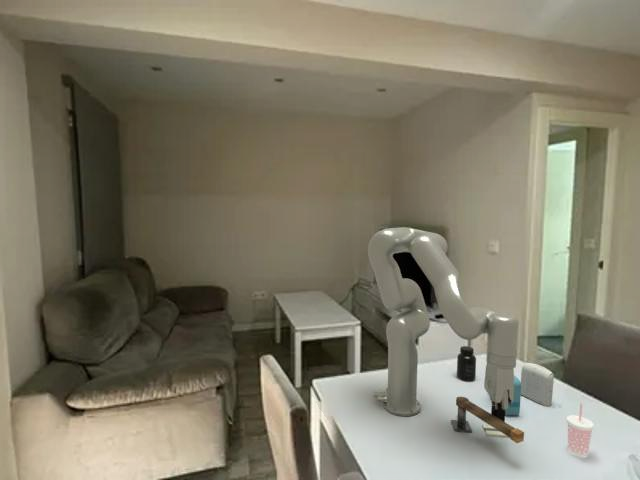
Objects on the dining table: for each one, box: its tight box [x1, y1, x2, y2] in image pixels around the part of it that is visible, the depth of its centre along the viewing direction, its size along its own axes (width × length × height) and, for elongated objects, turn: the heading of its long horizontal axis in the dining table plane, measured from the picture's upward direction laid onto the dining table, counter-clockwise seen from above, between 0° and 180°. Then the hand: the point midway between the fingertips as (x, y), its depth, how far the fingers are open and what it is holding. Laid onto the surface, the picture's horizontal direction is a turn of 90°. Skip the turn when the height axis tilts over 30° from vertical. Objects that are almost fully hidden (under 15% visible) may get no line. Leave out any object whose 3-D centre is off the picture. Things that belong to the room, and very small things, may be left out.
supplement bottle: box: [456, 345, 477, 382], centre depth 150 cm, size 7×7×12 cm
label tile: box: [481, 423, 510, 439], centre depth 115 cm, size 7×5×1 cm
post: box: [450, 406, 473, 434], centre depth 117 cm, size 5×5×7 cm
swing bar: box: [455, 396, 525, 444], centre depth 108 cm, size 21×4×2 cm, turn 26°
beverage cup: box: [566, 403, 595, 459], centre depth 105 cm, size 6×6×14 cm
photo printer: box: [520, 362, 555, 407], centre depth 134 cm, size 10×4×12 cm, turn 31°
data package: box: [489, 374, 522, 416], centre depth 128 cm, size 12×4×12 cm, turn 0°
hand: (497, 420), depth 109 cm, fingers closed
